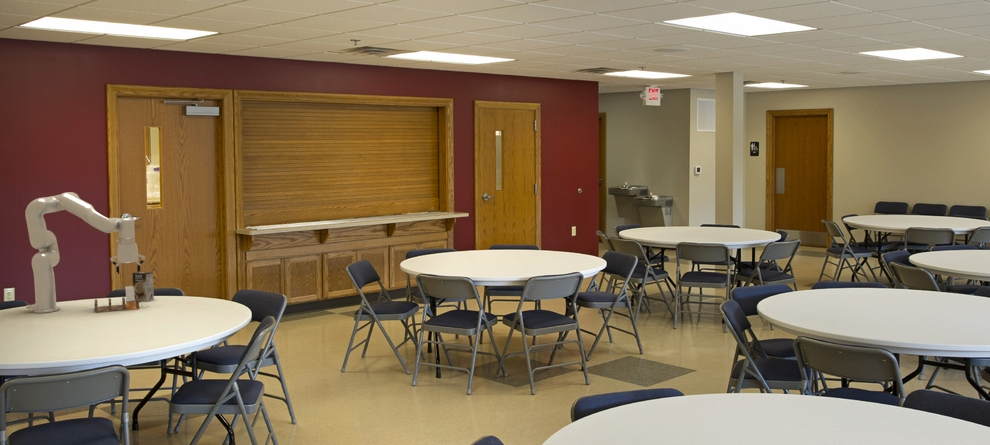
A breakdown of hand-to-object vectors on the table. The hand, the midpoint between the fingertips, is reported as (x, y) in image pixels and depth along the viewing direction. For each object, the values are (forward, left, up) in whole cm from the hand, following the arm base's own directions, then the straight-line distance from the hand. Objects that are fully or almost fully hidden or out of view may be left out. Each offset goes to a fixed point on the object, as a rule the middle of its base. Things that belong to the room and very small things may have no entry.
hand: (128, 273), depth 447 cm
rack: (-6, 0, -19) cm, 20 cm away
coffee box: (+8, +20, -19) cm, 29 cm away
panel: (0, 0, -18) cm, 18 cm away
